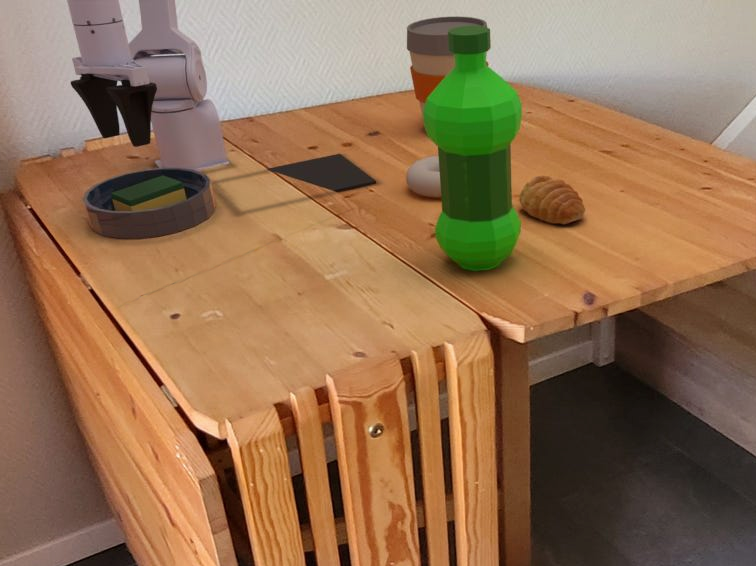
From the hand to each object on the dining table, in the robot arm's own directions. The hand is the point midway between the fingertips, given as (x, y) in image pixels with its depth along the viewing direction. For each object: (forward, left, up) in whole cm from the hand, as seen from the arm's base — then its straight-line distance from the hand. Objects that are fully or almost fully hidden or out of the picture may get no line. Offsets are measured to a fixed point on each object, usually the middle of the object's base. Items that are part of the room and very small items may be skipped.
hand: (126, 140), depth 122 cm
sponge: (-1, 0, -10) cm, 10 cm away
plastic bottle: (-31, +36, -11) cm, 49 cm away
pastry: (-46, +28, -11) cm, 55 cm away
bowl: (-1, 0, -10) cm, 10 cm away
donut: (-38, +12, -11) cm, 41 cm away
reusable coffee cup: (-51, -11, -11) cm, 53 cm away
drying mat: (-21, -2, -10) cm, 23 cm away
